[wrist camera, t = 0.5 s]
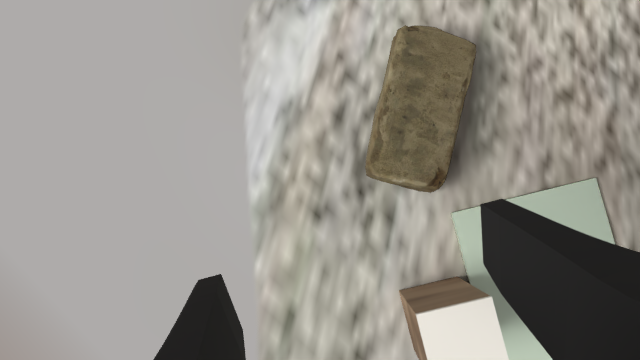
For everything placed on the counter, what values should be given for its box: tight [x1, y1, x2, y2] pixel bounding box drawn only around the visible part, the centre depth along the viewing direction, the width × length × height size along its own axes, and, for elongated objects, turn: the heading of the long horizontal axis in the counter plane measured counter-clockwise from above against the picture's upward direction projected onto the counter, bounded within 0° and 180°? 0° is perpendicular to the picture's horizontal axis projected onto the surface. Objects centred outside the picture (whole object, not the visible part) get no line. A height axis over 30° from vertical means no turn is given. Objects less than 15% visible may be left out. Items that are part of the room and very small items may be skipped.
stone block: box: [365, 25, 476, 193], centre depth 34 cm, size 6×12×5 cm, turn 167°
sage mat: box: [451, 178, 615, 360], centre depth 35 cm, size 14×11×1 cm
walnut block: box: [399, 277, 509, 360], centre depth 31 cm, size 4×4×8 cm
